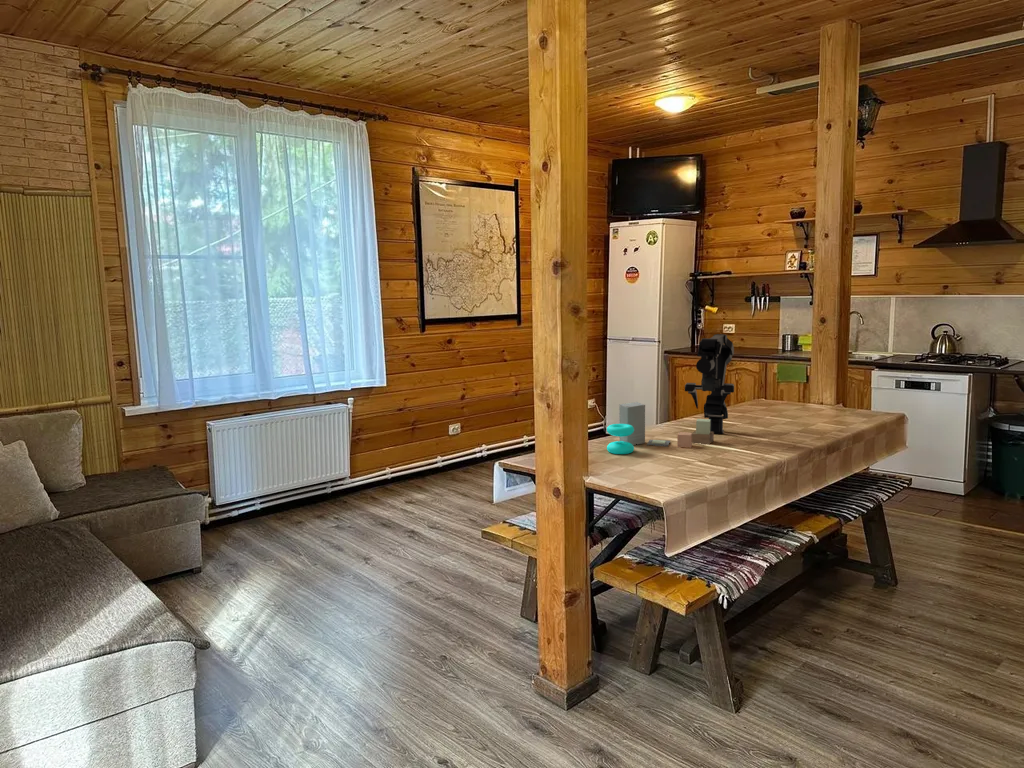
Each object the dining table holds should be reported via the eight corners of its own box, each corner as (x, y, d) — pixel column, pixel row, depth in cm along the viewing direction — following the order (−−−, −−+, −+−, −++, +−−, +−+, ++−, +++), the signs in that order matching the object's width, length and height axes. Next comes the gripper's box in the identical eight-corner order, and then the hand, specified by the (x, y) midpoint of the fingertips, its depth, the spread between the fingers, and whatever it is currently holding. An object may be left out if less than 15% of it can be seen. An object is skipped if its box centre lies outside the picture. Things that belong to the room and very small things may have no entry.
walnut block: (695, 440, 281) (696, 430, 281) (713, 441, 278) (713, 431, 277) (690, 443, 275) (691, 433, 275) (708, 445, 272) (709, 435, 271)
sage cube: (697, 431, 279) (697, 418, 278) (710, 431, 277) (710, 419, 276) (695, 433, 274) (696, 421, 273) (709, 434, 272) (709, 421, 272)
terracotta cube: (678, 444, 273) (678, 432, 272) (691, 445, 271) (692, 432, 271) (677, 447, 268) (677, 434, 268) (690, 448, 267) (691, 435, 266)
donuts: (602, 426, 260) (613, 422, 268) (602, 453, 261) (613, 448, 269) (628, 429, 255) (638, 424, 263) (628, 456, 256) (637, 450, 264)
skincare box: (636, 440, 281) (636, 401, 279) (646, 444, 274) (646, 404, 272) (618, 443, 278) (618, 403, 276) (627, 446, 271) (627, 405, 269)
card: (649, 441, 280) (649, 439, 280) (670, 442, 277) (670, 440, 277) (646, 445, 272) (646, 443, 272) (668, 446, 270) (668, 444, 270)
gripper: (683, 372, 275) (683, 412, 277) (733, 373, 269) (733, 413, 271) (686, 368, 285) (685, 406, 287) (734, 369, 279) (733, 408, 281)
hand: (709, 409), depth 281 cm, fingers open, 9 cm apart
